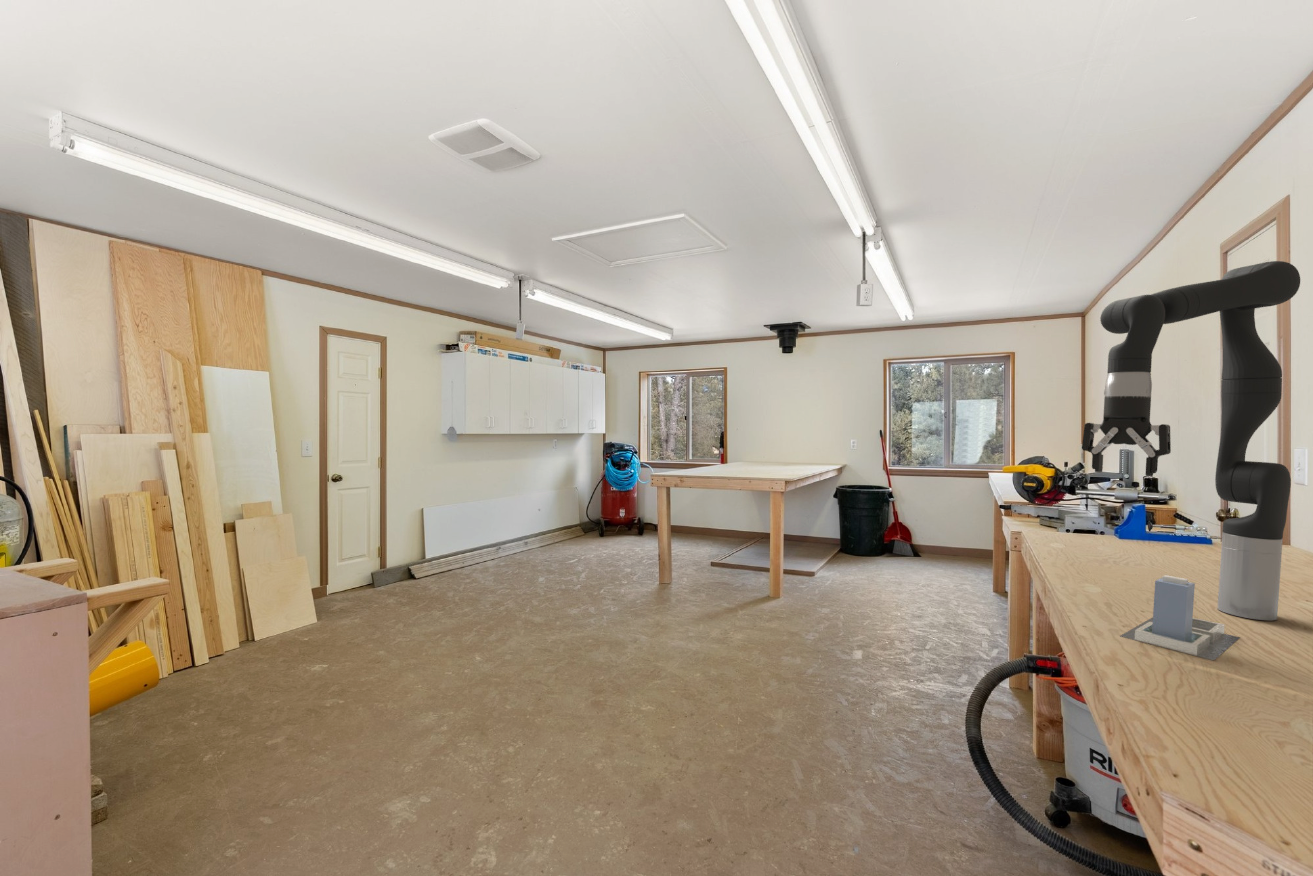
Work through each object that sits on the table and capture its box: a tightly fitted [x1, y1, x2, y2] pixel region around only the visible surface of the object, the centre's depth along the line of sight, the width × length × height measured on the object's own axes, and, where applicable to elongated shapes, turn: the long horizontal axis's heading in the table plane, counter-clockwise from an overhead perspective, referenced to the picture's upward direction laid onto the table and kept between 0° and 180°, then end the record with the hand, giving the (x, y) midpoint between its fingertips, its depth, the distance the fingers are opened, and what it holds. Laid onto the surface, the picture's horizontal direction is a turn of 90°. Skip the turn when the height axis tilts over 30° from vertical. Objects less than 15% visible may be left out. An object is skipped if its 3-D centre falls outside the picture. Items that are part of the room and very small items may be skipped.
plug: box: [1152, 574, 1196, 642], centre depth 107 cm, size 4×4×12 cm
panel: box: [1119, 616, 1241, 662], centre depth 111 cm, size 20×13×2 cm, turn 126°
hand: (1123, 473), depth 122 cm, fingers open, 8 cm apart
